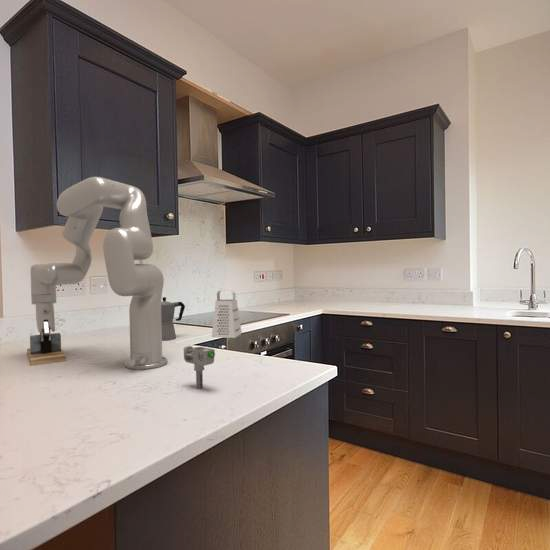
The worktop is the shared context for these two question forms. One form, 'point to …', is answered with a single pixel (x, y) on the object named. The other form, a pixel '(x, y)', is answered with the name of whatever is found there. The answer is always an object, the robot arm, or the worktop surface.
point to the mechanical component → (199, 361)
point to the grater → (226, 318)
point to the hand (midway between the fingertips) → (45, 350)
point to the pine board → (46, 357)
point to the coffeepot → (169, 318)
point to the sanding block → (36, 345)
